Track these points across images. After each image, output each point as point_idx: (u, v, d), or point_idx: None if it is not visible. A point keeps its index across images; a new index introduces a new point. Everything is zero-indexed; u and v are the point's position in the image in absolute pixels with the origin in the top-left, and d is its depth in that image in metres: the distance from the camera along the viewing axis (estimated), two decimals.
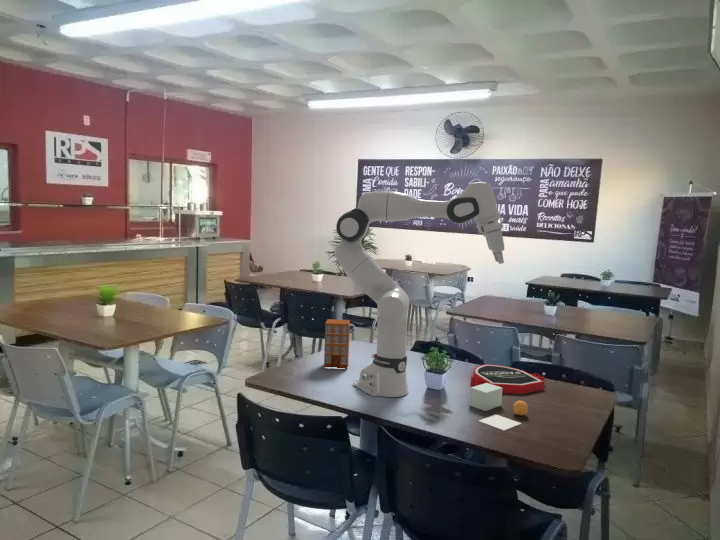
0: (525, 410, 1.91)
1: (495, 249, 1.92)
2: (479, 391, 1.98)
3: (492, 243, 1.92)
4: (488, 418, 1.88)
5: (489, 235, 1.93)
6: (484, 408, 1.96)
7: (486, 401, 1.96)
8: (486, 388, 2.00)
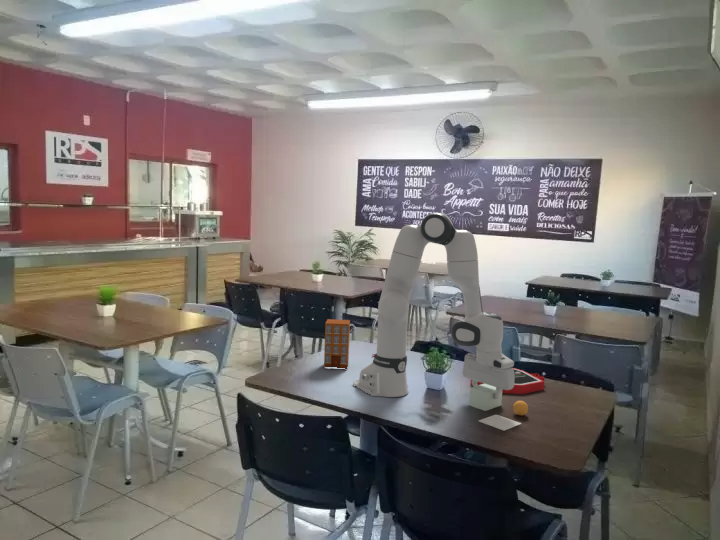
0: (525, 410, 1.91)
1: (509, 387, 1.93)
2: (479, 391, 1.98)
3: (508, 381, 1.92)
4: (488, 418, 1.88)
5: (507, 372, 1.92)
6: (484, 408, 1.96)
7: (486, 401, 1.96)
8: (486, 388, 2.00)
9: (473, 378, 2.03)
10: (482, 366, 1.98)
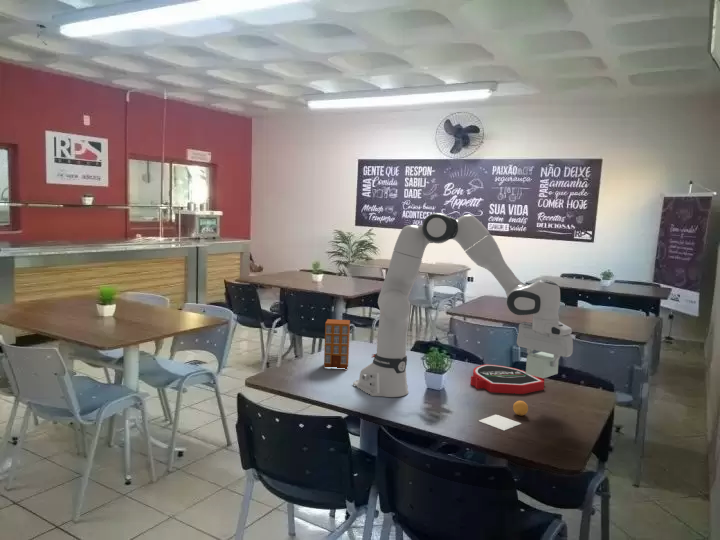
0: (525, 410, 1.91)
1: (568, 354, 1.91)
2: (536, 359, 1.96)
3: (567, 348, 1.91)
4: (488, 418, 1.88)
5: (566, 339, 1.91)
6: (542, 375, 1.95)
7: (544, 368, 1.94)
8: (543, 356, 1.99)
9: (529, 347, 2.02)
10: (539, 334, 1.97)
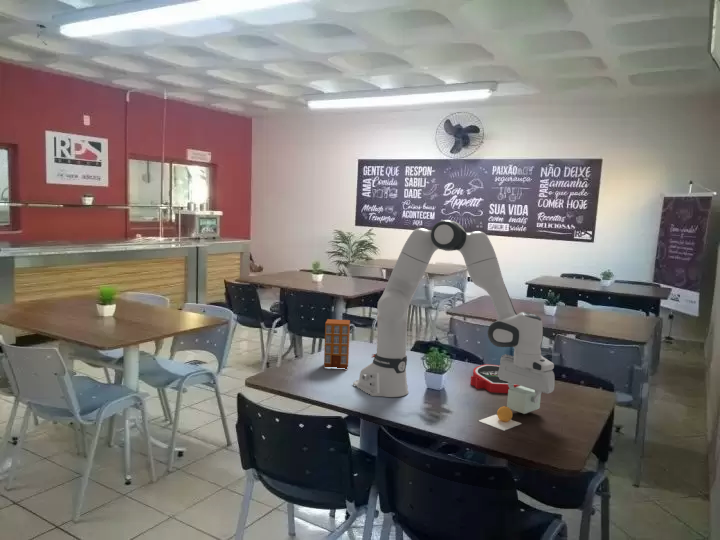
0: (511, 414, 1.85)
1: (549, 391, 1.85)
2: (517, 394, 1.91)
3: (549, 384, 1.85)
4: (488, 418, 1.88)
5: (547, 375, 1.85)
6: (523, 411, 1.89)
7: (525, 404, 1.89)
8: (525, 390, 1.93)
9: (510, 380, 1.96)
10: (520, 368, 1.91)
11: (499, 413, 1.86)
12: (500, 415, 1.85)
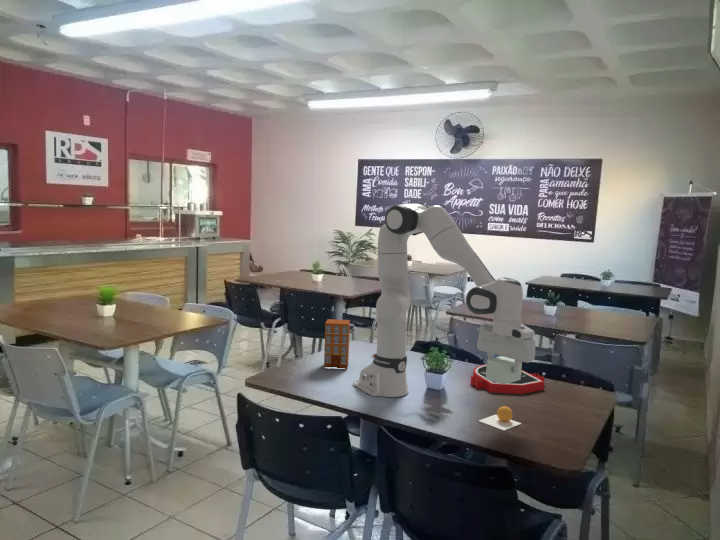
0: (511, 414, 1.85)
1: (529, 359, 1.75)
2: (497, 363, 1.80)
3: (529, 352, 1.74)
4: (488, 418, 1.88)
5: (527, 343, 1.75)
6: (502, 381, 1.79)
7: (505, 374, 1.78)
8: (505, 360, 1.83)
9: (489, 350, 1.85)
10: (499, 337, 1.81)
11: (499, 413, 1.86)
12: (500, 415, 1.85)
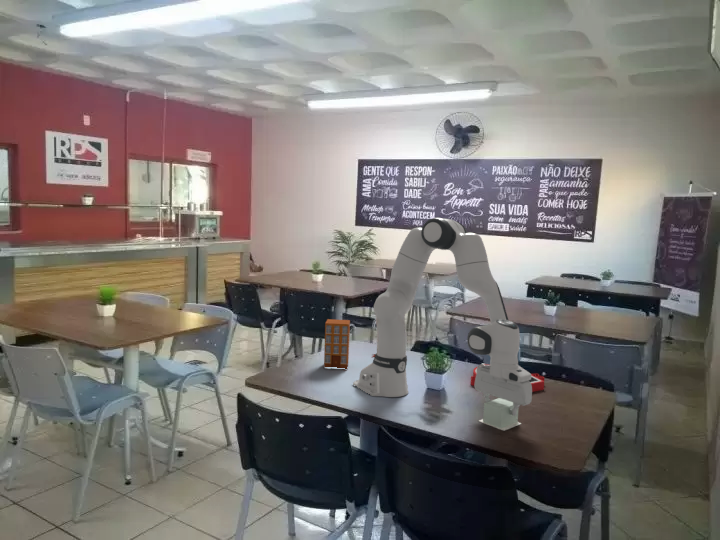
0: None
1: (526, 403, 1.76)
2: (493, 408, 1.82)
3: (525, 396, 1.76)
4: None
5: (524, 386, 1.76)
6: (499, 426, 1.80)
7: (501, 418, 1.80)
8: (501, 403, 1.84)
9: (486, 391, 1.87)
10: (496, 379, 1.82)
11: None
12: None
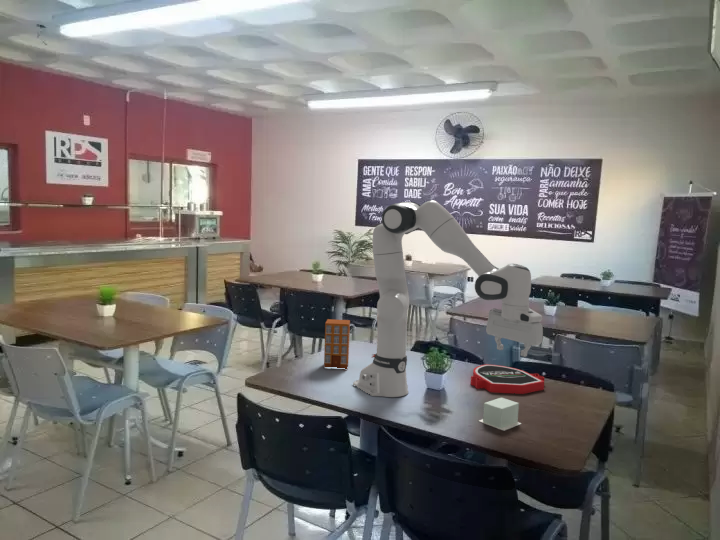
0: None
1: (537, 342, 1.81)
2: (493, 408, 1.82)
3: (536, 336, 1.80)
4: None
5: (535, 326, 1.80)
6: (499, 426, 1.80)
7: (501, 418, 1.80)
8: (501, 403, 1.84)
9: (498, 334, 1.91)
10: (508, 321, 1.86)
11: None
12: None
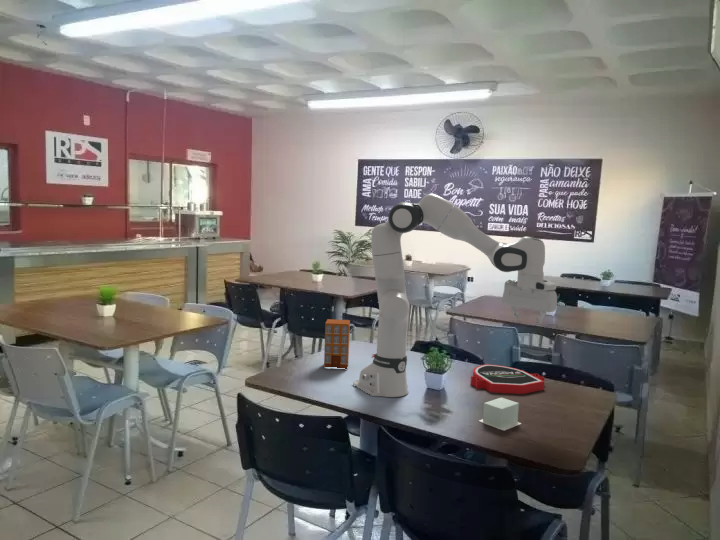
0: None
1: (552, 309, 1.93)
2: (493, 408, 1.82)
3: (551, 302, 1.92)
4: None
5: (550, 294, 1.92)
6: (499, 426, 1.80)
7: (501, 418, 1.80)
8: (501, 403, 1.84)
9: (514, 304, 2.03)
10: (524, 290, 1.98)
11: None
12: None
